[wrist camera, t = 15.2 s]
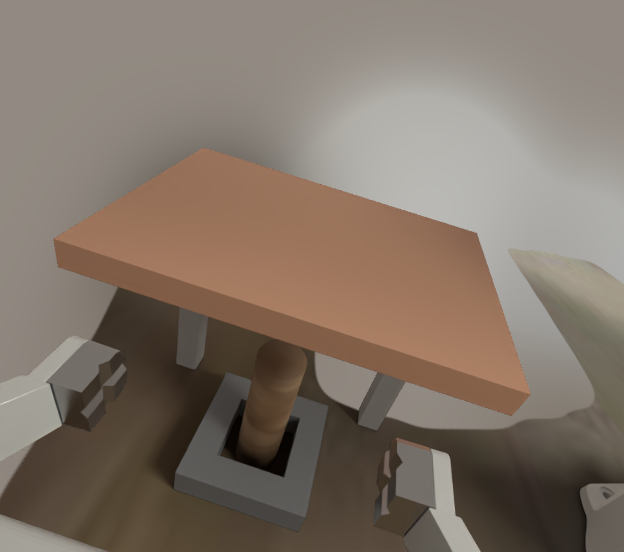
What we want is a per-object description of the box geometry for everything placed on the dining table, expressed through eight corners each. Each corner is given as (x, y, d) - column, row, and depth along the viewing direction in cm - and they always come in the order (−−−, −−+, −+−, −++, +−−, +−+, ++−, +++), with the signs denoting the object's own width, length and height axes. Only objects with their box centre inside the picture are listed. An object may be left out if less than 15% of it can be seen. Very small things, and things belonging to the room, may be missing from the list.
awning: (366, 579, 28) (530, 394, 16) (93, 484, 29) (53, 238, 17) (378, 410, 41) (476, 233, 28) (187, 346, 41) (203, 147, 29)
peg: (270, 430, 36) (299, 338, 29) (280, 467, 33) (313, 375, 26) (232, 436, 34) (252, 341, 28) (239, 475, 32) (263, 381, 25)
